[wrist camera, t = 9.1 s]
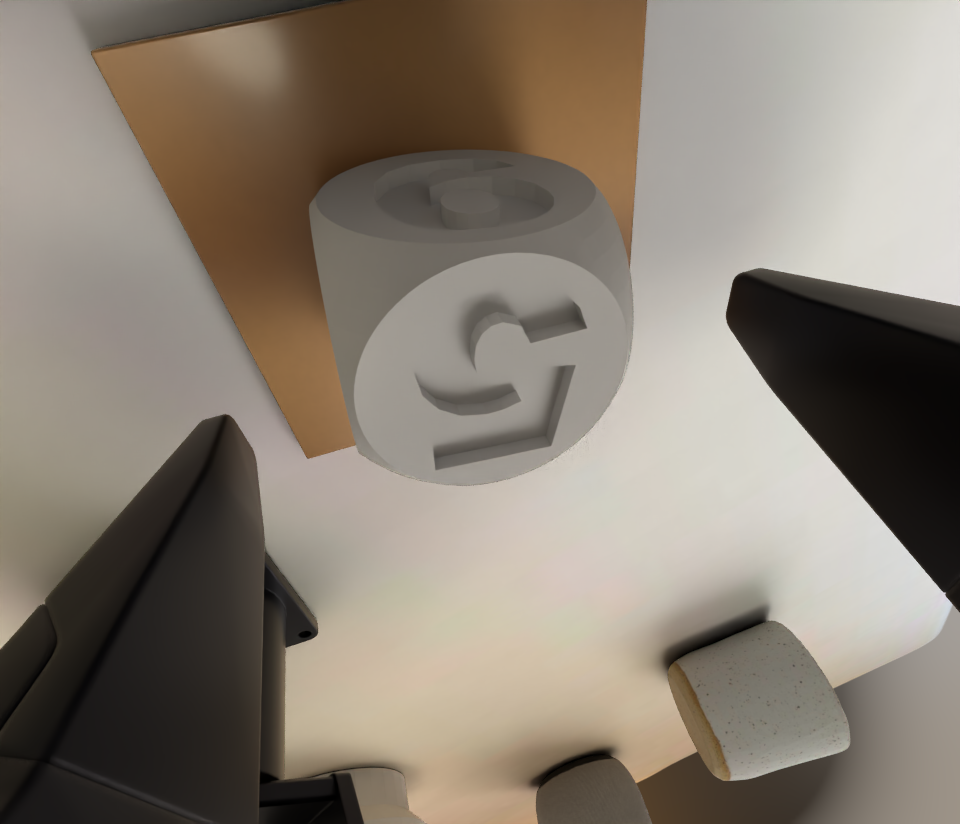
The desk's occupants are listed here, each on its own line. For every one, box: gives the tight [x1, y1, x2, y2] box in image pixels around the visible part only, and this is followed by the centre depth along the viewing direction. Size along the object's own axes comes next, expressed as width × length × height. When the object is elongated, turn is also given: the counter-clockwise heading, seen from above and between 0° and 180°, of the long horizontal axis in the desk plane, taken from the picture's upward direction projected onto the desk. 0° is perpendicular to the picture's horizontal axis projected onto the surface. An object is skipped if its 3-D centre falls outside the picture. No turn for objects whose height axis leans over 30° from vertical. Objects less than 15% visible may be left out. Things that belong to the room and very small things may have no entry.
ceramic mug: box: [668, 621, 850, 781], centre depth 34 cm, size 11×8×8 cm
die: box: [309, 150, 633, 486], centre depth 11 cm, size 5×5×5 cm
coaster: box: [91, 0, 647, 459], centre depth 13 cm, size 10×10×1 cm
